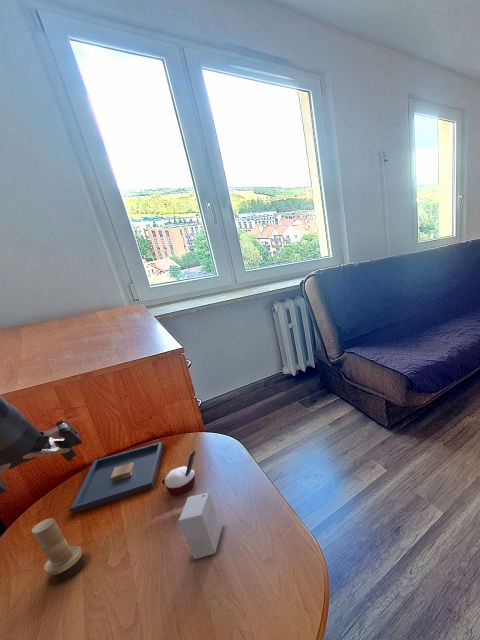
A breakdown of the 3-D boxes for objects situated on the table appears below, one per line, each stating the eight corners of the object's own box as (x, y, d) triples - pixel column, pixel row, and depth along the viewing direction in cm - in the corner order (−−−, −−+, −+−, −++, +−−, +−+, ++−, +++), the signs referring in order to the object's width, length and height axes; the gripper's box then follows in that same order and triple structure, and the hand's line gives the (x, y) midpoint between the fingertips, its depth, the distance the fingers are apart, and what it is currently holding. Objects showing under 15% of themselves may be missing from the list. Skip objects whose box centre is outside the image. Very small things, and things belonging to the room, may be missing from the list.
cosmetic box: (201, 534, 76) (187, 496, 72) (222, 529, 77) (210, 491, 73) (192, 560, 71) (177, 521, 66) (215, 554, 72) (201, 515, 67)
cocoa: (160, 493, 86) (146, 458, 82) (184, 475, 92) (172, 441, 87) (186, 505, 83) (172, 468, 79) (209, 485, 89) (197, 450, 84)
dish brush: (46, 588, 66) (17, 543, 61) (57, 564, 70) (30, 520, 65) (81, 574, 68) (56, 530, 63) (90, 552, 72) (66, 509, 68)
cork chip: (112, 482, 89) (110, 477, 88) (116, 471, 92) (114, 467, 91) (131, 476, 90) (129, 472, 90) (134, 466, 94) (133, 462, 93)
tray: (73, 515, 80) (70, 508, 80) (96, 466, 95) (94, 460, 94) (153, 489, 88) (151, 482, 87) (164, 447, 102) (162, 441, 101)
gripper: (47, 391, 57) (82, 434, 67) (-95, 442, 47) (-28, 482, 58) (62, 423, 54) (96, 462, 65) (-84, 484, 45) (-17, 518, 55)
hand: (37, 472), depth 61 cm, fingers open, 8 cm apart
